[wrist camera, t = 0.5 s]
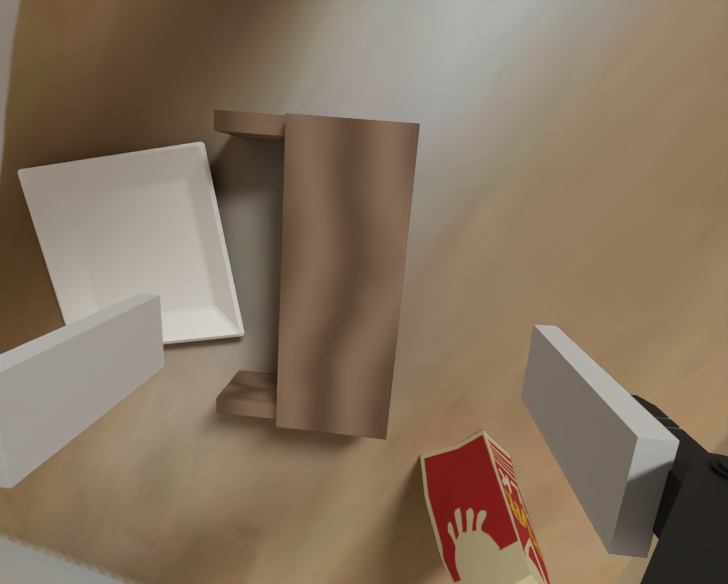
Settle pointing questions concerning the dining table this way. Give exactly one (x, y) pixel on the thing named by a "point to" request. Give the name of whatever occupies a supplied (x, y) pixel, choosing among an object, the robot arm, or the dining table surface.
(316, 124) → the overhang shelf
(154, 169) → the plate
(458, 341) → the dining table surface
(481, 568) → the milk carton
